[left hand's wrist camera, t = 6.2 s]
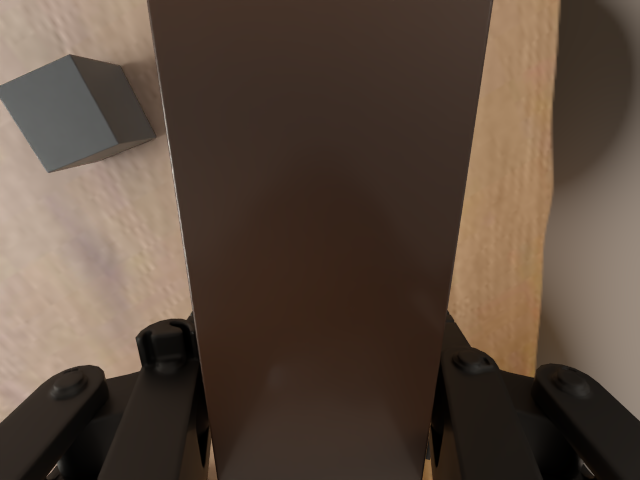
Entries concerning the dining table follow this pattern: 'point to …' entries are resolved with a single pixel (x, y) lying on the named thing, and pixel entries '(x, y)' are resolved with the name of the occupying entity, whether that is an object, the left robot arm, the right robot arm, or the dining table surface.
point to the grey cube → (76, 112)
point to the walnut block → (319, 219)
